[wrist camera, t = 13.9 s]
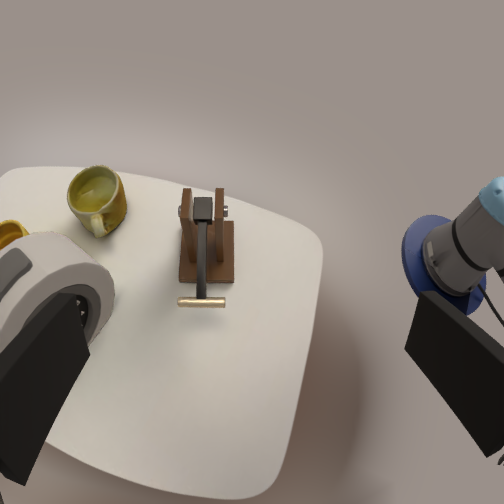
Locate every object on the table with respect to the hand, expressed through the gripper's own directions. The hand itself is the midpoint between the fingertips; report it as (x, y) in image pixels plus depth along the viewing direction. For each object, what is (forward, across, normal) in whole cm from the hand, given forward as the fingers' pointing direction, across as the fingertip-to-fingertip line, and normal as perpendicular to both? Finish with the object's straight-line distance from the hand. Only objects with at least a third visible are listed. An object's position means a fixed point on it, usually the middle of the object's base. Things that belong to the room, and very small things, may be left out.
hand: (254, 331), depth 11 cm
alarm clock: (+26, -25, -19) cm, 41 cm away
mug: (+40, -22, -5) cm, 46 cm away
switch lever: (+27, -4, -6) cm, 28 cm away
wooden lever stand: (+36, -4, -9) cm, 37 cm away
